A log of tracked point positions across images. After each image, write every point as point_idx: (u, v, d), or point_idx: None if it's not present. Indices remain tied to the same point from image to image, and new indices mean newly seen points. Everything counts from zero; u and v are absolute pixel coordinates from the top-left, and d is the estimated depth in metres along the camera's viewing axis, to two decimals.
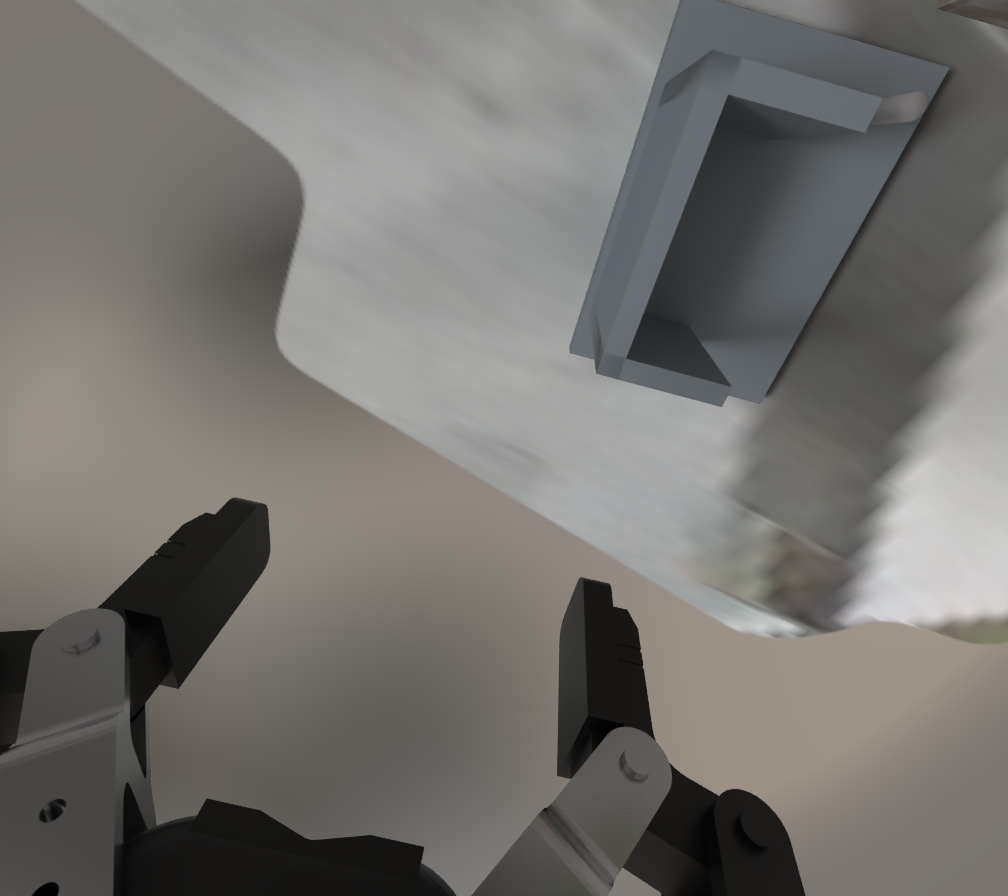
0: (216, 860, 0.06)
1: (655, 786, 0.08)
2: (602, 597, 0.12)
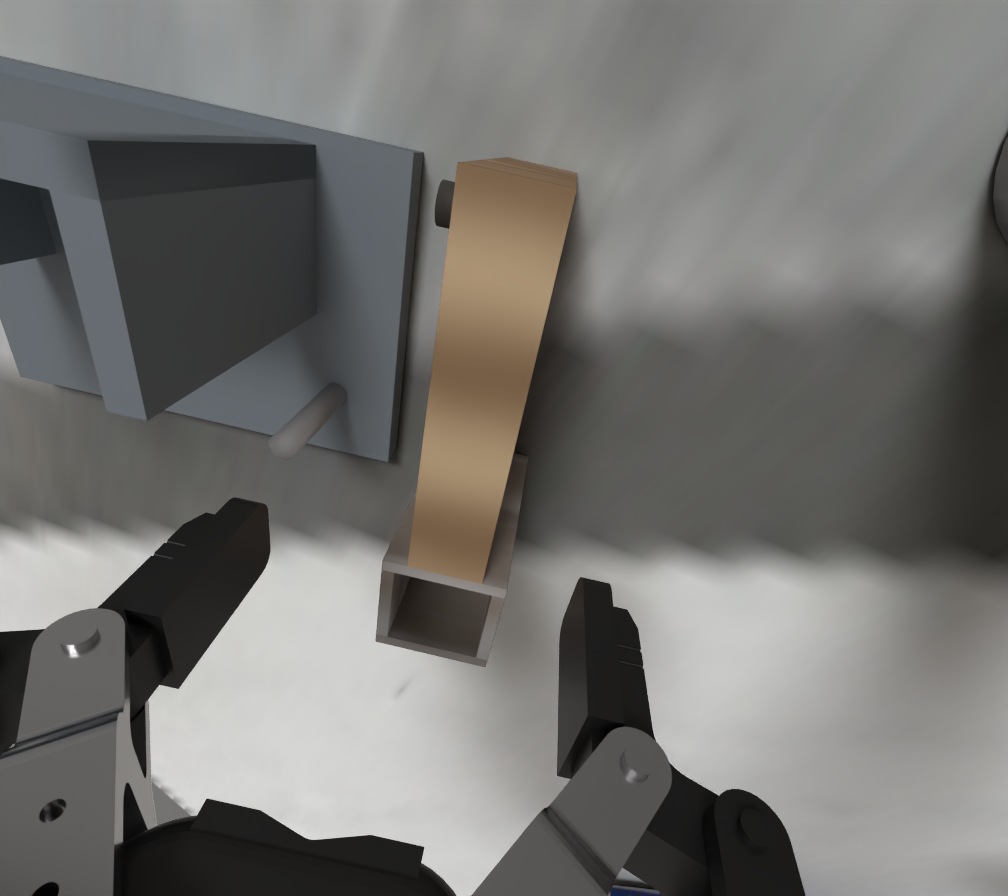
0: (216, 860, 0.06)
1: (655, 786, 0.08)
2: (602, 597, 0.12)
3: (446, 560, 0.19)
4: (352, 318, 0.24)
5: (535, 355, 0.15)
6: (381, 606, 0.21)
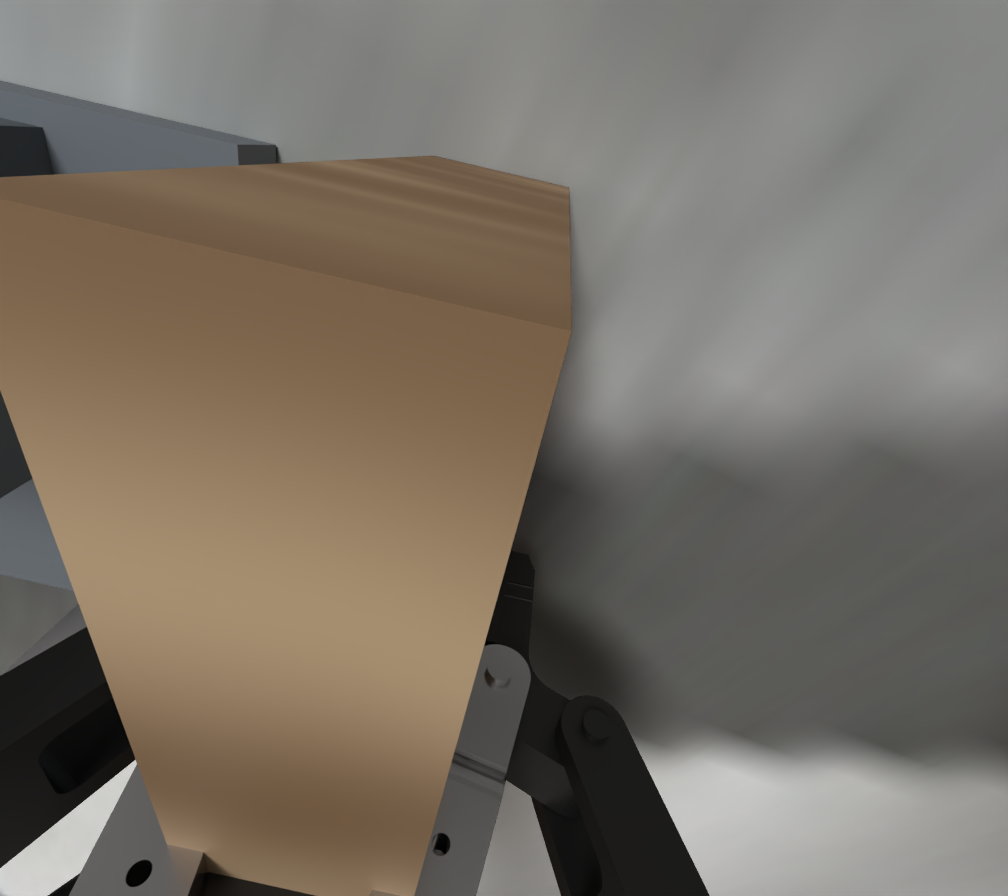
0: None
1: (512, 690, 0.09)
2: None
3: None
4: None
5: (439, 787, 0.05)
6: None
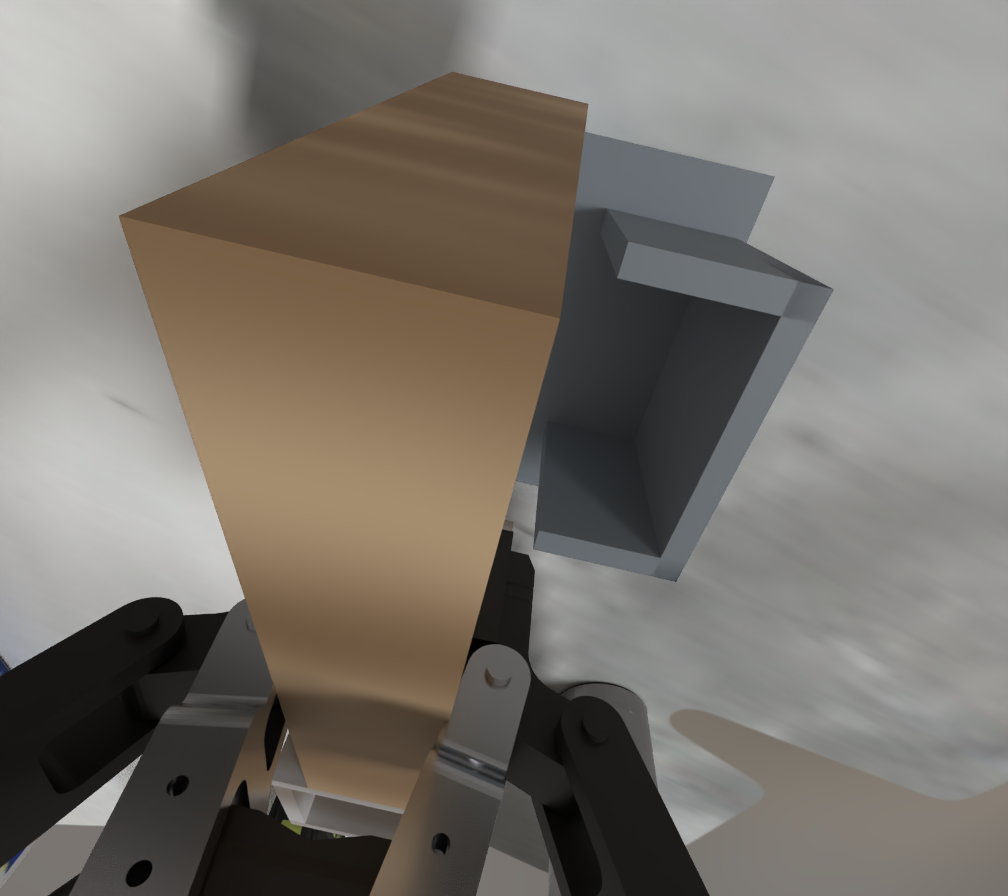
0: (216, 860, 0.06)
1: (512, 690, 0.09)
2: (502, 541, 0.12)
3: (364, 792, 0.12)
4: (539, 458, 0.34)
5: (470, 631, 0.06)
6: (286, 806, 0.14)
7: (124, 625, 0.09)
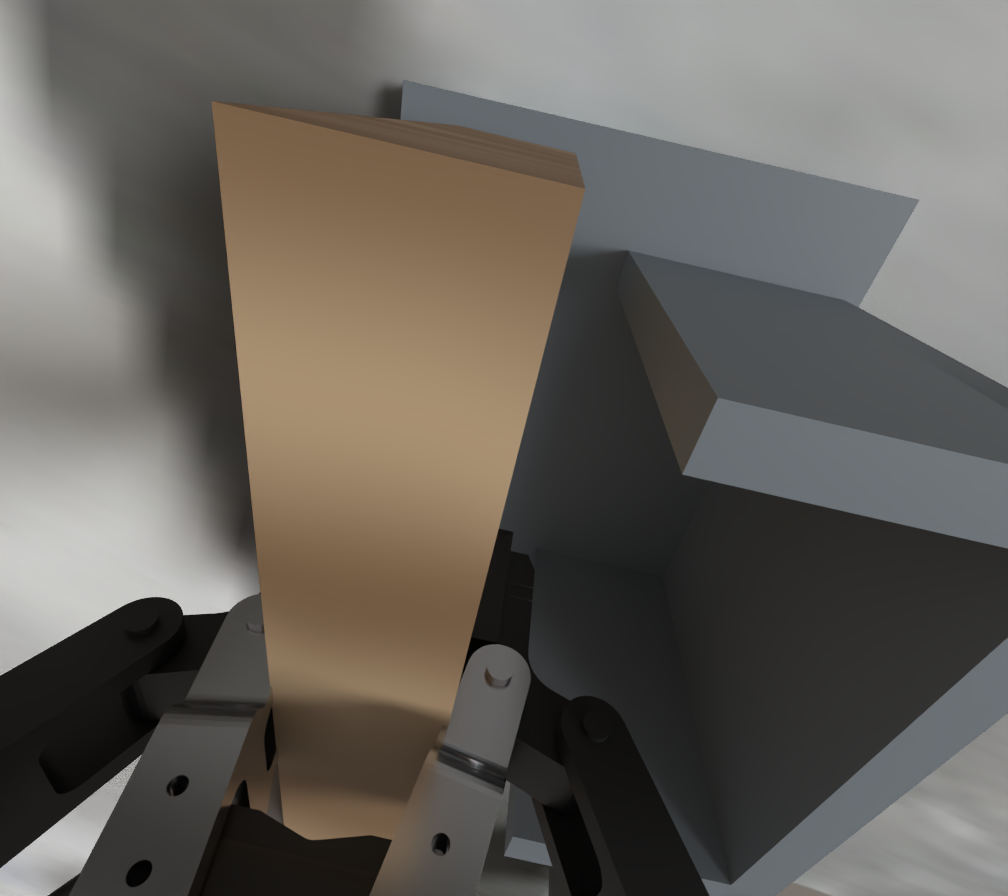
0: (216, 860, 0.06)
1: (512, 690, 0.09)
2: (502, 541, 0.12)
3: (348, 833, 0.11)
4: None
5: (484, 571, 0.06)
6: None
7: (124, 625, 0.09)
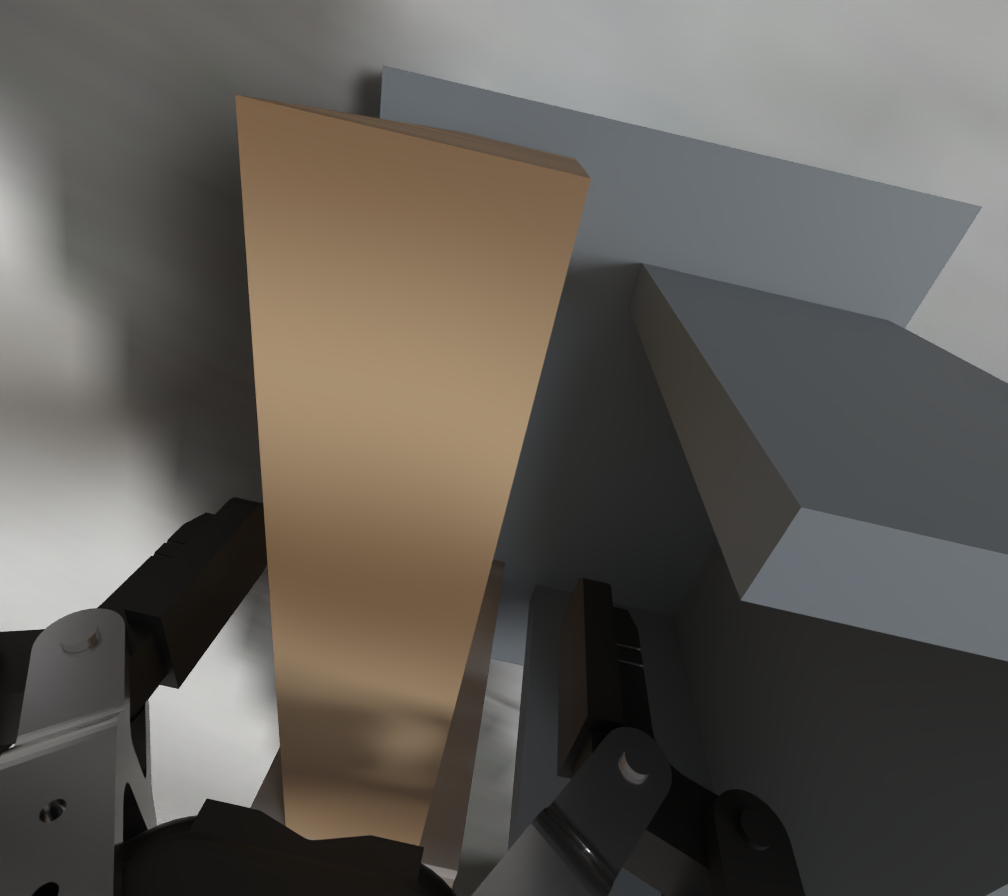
0: (216, 860, 0.06)
1: (655, 786, 0.08)
2: (602, 597, 0.12)
3: (350, 831, 0.11)
4: (524, 632, 0.22)
5: (490, 558, 0.06)
6: None
7: None
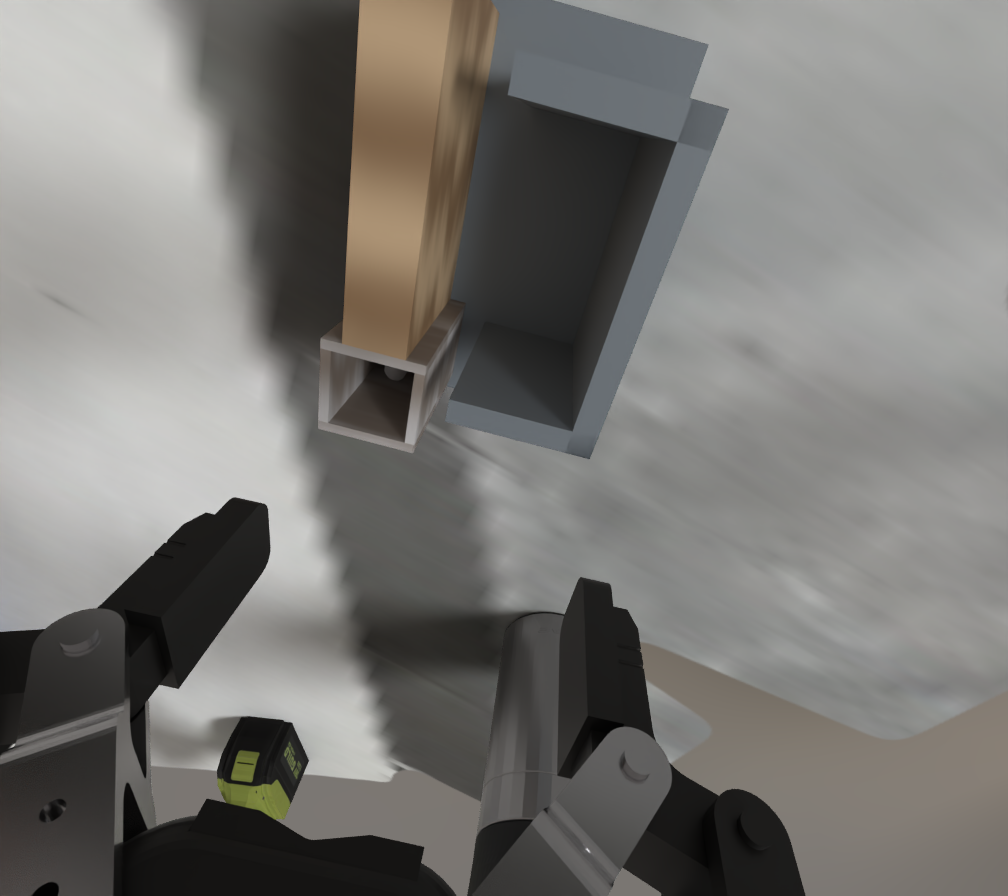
0: (216, 860, 0.06)
1: (655, 786, 0.08)
2: (602, 597, 0.12)
3: (374, 335, 0.23)
4: None
5: (436, 116, 0.18)
6: (321, 389, 0.24)
7: None
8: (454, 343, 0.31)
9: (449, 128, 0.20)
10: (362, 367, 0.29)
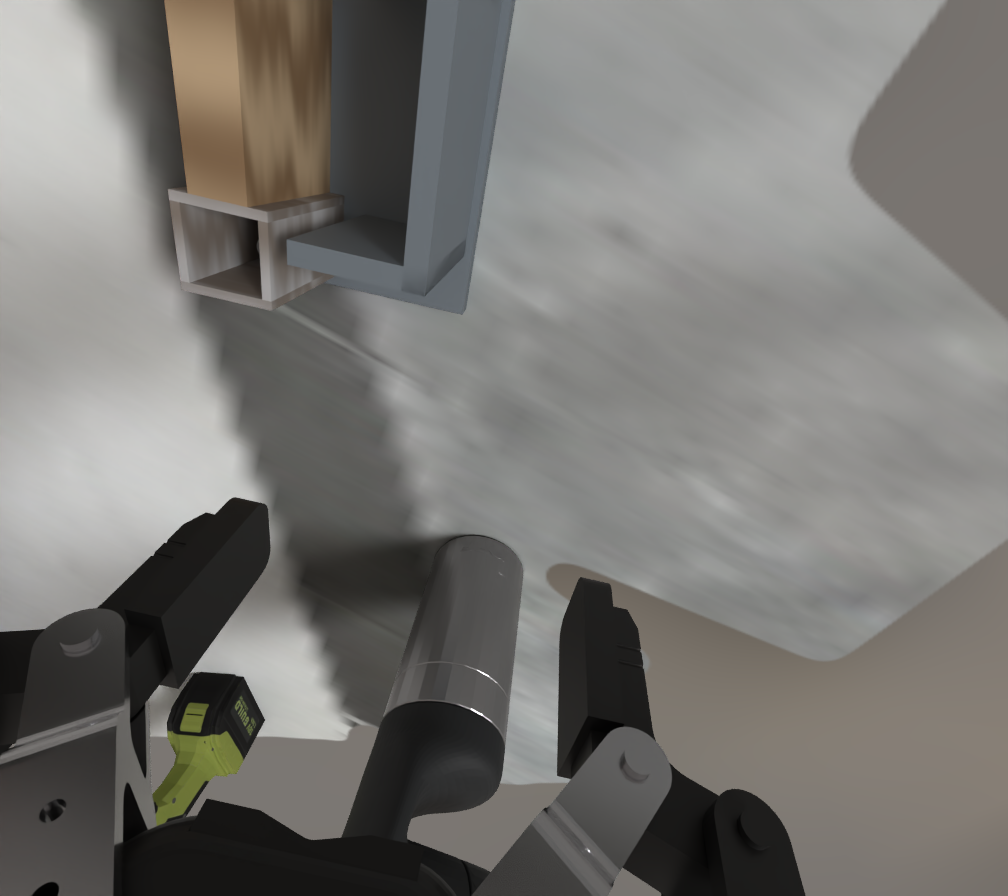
0: (216, 860, 0.06)
1: (655, 786, 0.08)
2: (602, 597, 0.12)
3: (215, 182, 0.24)
4: None
5: None
6: (177, 245, 0.26)
7: None
8: None
9: None
10: (237, 248, 0.31)
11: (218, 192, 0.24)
